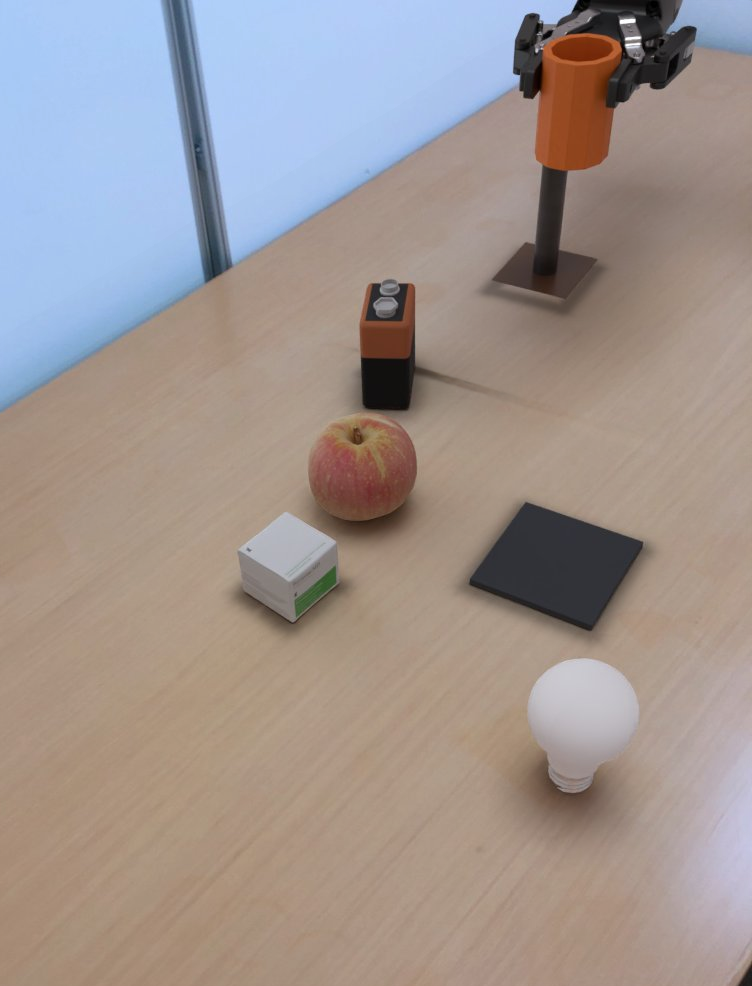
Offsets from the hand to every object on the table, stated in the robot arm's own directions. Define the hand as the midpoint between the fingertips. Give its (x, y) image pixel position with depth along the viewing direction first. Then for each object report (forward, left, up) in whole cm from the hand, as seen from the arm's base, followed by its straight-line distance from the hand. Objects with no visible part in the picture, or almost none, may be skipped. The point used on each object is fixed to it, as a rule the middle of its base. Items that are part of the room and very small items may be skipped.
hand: (569, 90), depth 82 cm
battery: (+12, +8, -26) cm, 30 cm away
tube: (0, -2, -6) cm, 6 cm away
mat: (-11, +22, -26) cm, 36 cm away
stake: (+7, -15, -26) cm, 31 cm away
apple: (+6, +23, -26) cm, 35 cm away
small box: (+6, +34, -26) cm, 43 cm away
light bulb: (-20, +40, -26) cm, 52 cm away
